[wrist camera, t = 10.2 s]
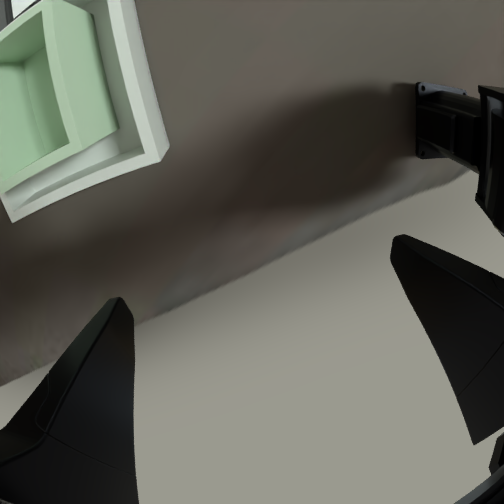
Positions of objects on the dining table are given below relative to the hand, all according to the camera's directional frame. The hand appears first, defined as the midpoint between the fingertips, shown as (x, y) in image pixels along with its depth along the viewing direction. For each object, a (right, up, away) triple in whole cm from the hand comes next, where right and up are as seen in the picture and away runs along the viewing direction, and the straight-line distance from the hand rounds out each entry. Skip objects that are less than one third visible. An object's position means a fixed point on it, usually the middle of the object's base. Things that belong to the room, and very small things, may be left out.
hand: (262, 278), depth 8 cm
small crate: (-13, +12, +4) cm, 18 cm away
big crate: (-13, +12, +5) cm, 18 cm away
